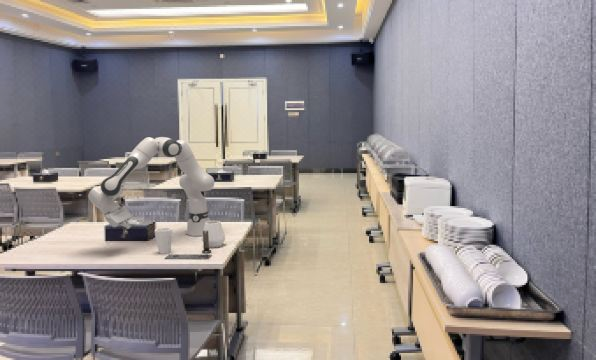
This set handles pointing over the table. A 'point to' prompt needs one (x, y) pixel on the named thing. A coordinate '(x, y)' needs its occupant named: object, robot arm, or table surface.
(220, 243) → the white bulging cylinder
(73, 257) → the table surface
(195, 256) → the hole plate
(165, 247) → the foam cup
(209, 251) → the post
